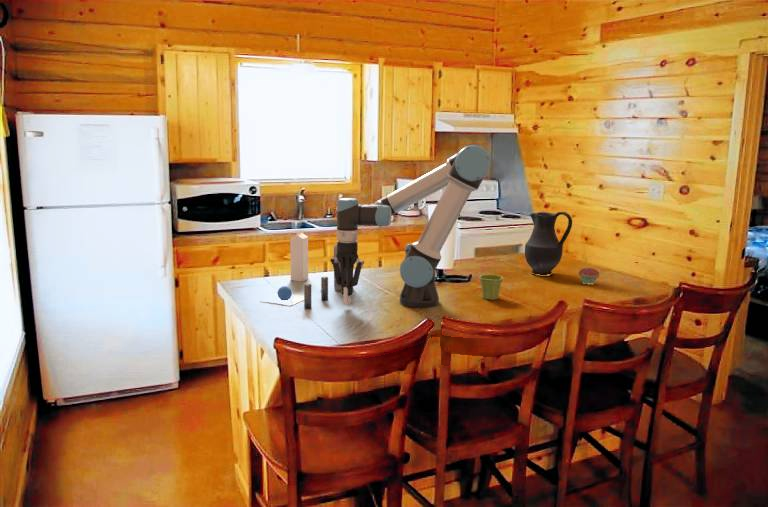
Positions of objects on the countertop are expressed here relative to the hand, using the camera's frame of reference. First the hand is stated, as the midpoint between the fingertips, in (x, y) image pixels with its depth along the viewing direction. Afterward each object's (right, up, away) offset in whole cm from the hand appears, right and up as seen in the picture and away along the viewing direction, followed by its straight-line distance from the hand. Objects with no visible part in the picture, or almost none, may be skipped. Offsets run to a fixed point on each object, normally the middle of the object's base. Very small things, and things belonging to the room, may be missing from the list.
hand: (347, 303), depth 228 cm
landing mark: (-25, +1, +11) cm, 27 cm away
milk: (-23, +7, +43) cm, 49 cm away
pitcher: (+89, +8, +59) cm, 107 cm away
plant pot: (+56, +1, +18) cm, 59 cm away
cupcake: (+104, +5, +43) cm, 113 cm away
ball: (-25, +3, +10) cm, 27 cm away
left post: (-15, -2, 0) cm, 15 cm away
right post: (-9, 0, +11) cm, 15 cm away
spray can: (-3, +3, +27) cm, 28 cm away
